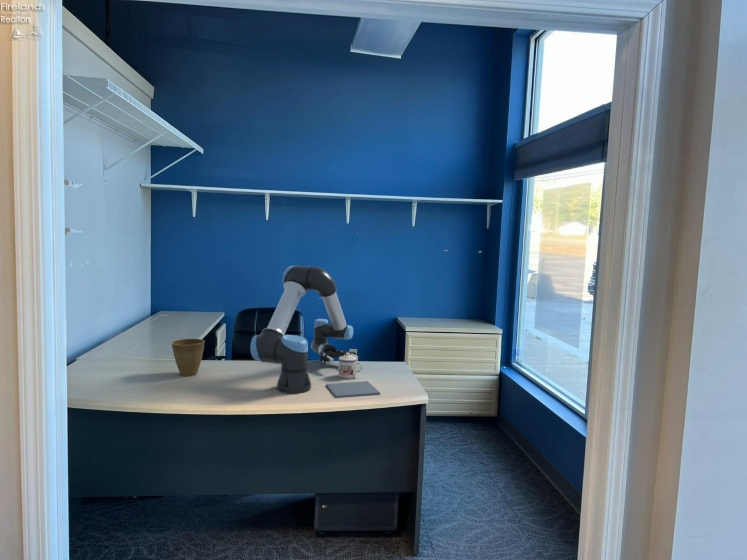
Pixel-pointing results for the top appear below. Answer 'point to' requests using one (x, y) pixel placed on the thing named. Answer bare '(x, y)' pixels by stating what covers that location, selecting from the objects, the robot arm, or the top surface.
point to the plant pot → (188, 355)
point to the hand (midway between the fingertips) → (345, 360)
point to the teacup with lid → (348, 366)
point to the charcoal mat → (352, 389)
